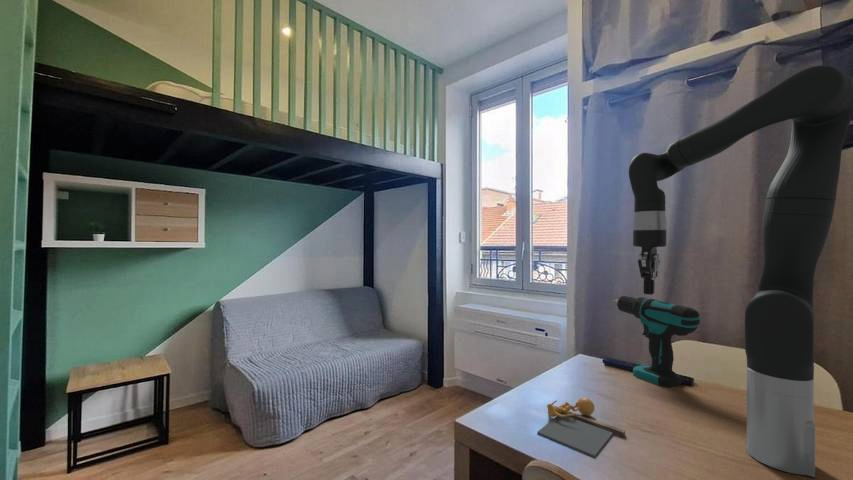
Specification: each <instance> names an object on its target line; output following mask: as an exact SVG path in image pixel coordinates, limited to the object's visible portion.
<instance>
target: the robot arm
mask: <svg viewBox="0 0 853 480" xmlns="http://www.w3.org/2000/svg"><path fill="white" fill-rule="evenodd" d="M852 117H853V77H852V76H850V75H848V74H847V73H846V72H844V71H843V70H841V69H839V68H837V67H834V66H831V65H824V64H823V65H815V66H810V67H808V68H804V69H802V70H800V71H798V72H795V73H794V74H792V75H791V76H788V77H787V78H785V79H784V80H782V81H781V82H779V83H777V84H776V85H774V86H773V87H771V88H769V89H768V90H766V91H765V92H763V93H762V94H760V95H758V96H756V97H755V98H754V99H752V100H750V101H749V102H747V103H746V104H744V105H742V106H740V107H739V108H737V109H735V110H734V111H732V112H730V113H728V114H727V115H725V116H723V117H722V118H720V119H717V120H716V121H714V122H712V123H710V124H708V125H706V126H703V127H702V128H700V129H698V130H696V131H693V132H692V133H689V134H686V135H685V136H683V137H681V138H678V139H676V140H675V141H673V142H671V143H670V144H669V146H668V147H667V150H666V151H665V152H662V153H660V154H654V153H650V152H642V153H641V152H640V153H638V154H637V155H635V156H634V157H633V158H632V159H631V161H630V163H629V166H628V177H629V182H630V183H629V184H630V187H631V190H632V195H633V196H634V202H633V204H634V207H633V209H634V214H633V219H632V220H633V221H632V245H633V247H635V248H636V247H637V248H638V247H639V248H641V251H640V253H638V254H639V255H638V260H637V263H638V268H639V273H640V277H641V279H642V280H643V294H644V295H654V294H655V288H656V287H655V283H656V282H655V281H656V279H657V277H658V273H659V268H660V267H659V266H660V262H661V260H660V254H659V253H658V248H665V247H666V246H667V233H668V232H667V225H668V224H667V215H666V194H665V192H664V191H663V189H661V188H660V187H659V185H658V182H661V181H664V180H666V179H668V178H670V177H673V176H674V175H676V174H678V173H679V172H681V171H682V170H683V169H685V168H686V167H689V166H692V165H695V164H697V163H700V162H702V161H705V160H708V159H710V158H712V157H714V156H717V155H718V154H721V153H722V152H724V151H725V150H728V149H729V148H731V147H732V146H734V145H735V144H736V143H737V142H739V141H740V140H742V139H743V138H745V137H747V136H749V135H750V134H752V133H755V132H757V131H759V130H761V129H763V128H766V127H768V126H772V125H775V124H778V123H781V122H785V121H787V120H791V132H790V140H789V141H790V142H789V147H788V151H787V154H786V156H785V158H784V161H783V162H782V164H781V166H780V168H779V169H778V171H777V172H776V174H775V176H774V178H773V179H772V181H771V183H770V186H769V188H768V191H767V193H766V200H765V204H764V205H765V206H764V210H763V215H762V216H763V219H762V249H763V251H762V253H763V263H762V269H761V274H760V278H759V282H758V284H757V287H756V290H755V293H754V296H753V297H752V298H751V299H749V301H748V302H747V304H746V306H745V311H744V350H745V352H744V353H745V355H746V441H745V442H746V452H747V453H748V454H749V456H750V457H752V458H753V459H754V460H755V461H758V462H760V463H762V464H764V465H765V466H768V467H770V468H773V469H776V470H779V471H782V472H786V473H789V474H795V475H802V476H808V477H812V478H816V424H815V419H814V418H815V417H814V416H815V415H814V414H815V413H814V411H815V409H814V407H815V405H814V401H815V400H814V397H815V396H814V389H815V388H814V387H815V386H814V385H815V384H814V383H815V382H814V380H815V379H814V378H815V377H814V375H815V373H814V371H815V366H814V365H815V363H814V362H815V358H814V356H815V355H814V346H815V345H814V341H815V340H814V339H815V337H814V335H815V332H814V331H815V330H814V329H815V328H814V327H815V326H814V324H815V323H814V322H815V321H814V320H815V311H814V283H815V282H814V281H815V271H816V267H817V265H818V262H819V259H820V256H821V254H822V251H823V250H824V247H825V244H826V242H827V238H828V236H829V235H828V234H829V231H830V228H831V225H832V221H833V216H834V210H835V206H836V200H837V191H838V183H839V177H840V171H841V159H842V151H843V145H844V142H845V139H846V136H847V131H848V130H849V126H850V124H851V120H852Z"/></svg>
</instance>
